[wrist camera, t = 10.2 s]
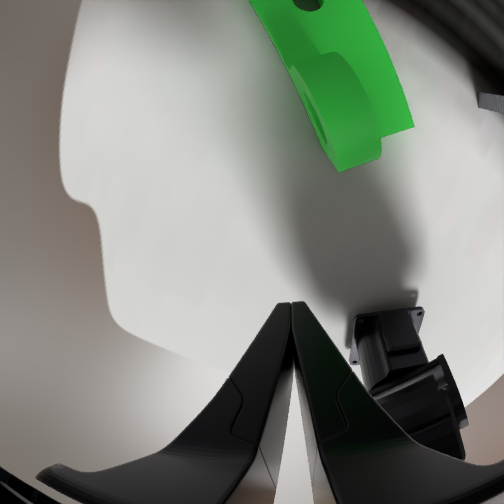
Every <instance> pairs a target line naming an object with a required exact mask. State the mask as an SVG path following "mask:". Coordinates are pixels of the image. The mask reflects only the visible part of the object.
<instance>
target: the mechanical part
mask: <svg viewBox="0 0 504 504" xmlns="http://www.w3.org/2000/svg"><path fill="white" fill-rule="evenodd" d="M317 1H318V3H319V5H320V9H318V10H316V11H304V10H301V9H299V8H298V7H297V6H296V5H295V4H294V3H293V0H249V2H250V4H251V5H252V7H253V9H254V10H255V12H256V14H257V16H258V17H259V19H260V21H261V22H262V24H263V26H264V28H265V30H266V31H267V33H268V35H269V37H270V39H271V40H272V42H273V44H274V46H275V48H276V50H277V52H278V54H279V56H280V57H281V59H282V61H283V63H284V65H285V67H286V69H287V71H288V73H289V75H290V77H291V79H292V82H293V84H294V86H295V88H296V90H297V92H298V94H299V96H300V98H301V101H302V103H303V105H304V107H305V109H306V112H307V114H308V116H309V119H310V121H311V123H312V125H313V128H314V130H315V133H316V135H317V137H318V140H319V142H320V145H321V147H322V150H323V151H324V153H325V154H326V156H327V157H328V158H329V160H330V161H331V163H332V164H333V165H334V167H335V168H336V170H337V171H338V172H341V171H344V170H347V169H350V168H353V167H355V166H358V165H361V164H364V163H367V162H370V161H372V160H375V159H378V158H379V157H380V155H381V137H384V136H387V135H391V134H394V133H397V132H400V131H403V130H406V129H409V128H413V127H415V126H414V123H413V119H412V116H411V113H410V110H409V107H408V104H407V101H406V98H405V95H404V92H403V90H402V87H401V84H400V81H399V79H398V76H397V74H396V71H395V69H394V66H393V64H392V61H391V59H390V57H389V54H388V52H387V50H386V47H385V45H384V43H383V41H382V39H381V37H380V34H379V32H378V30H377V28H376V26H375V24H374V22H373V20H372V18H371V16H370V15H369V13H368V11H367V9H366V7H365V5H364V3H363V2H362V0H317Z"/></svg>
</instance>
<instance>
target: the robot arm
mask: <svg viewBox="0 0 504 504" xmlns="http://www.w3.org/2000/svg"><path fill="white" fill-rule="evenodd" d="M418 312H419V313H418ZM424 312H425V311H424V309H423V307H413V308H406V309H398V310H391V311H383V312H374V313H366V314H359V315H357V316H356V317H355V318H354V326H353V335H352V343H351V351H350V358H349V361H350V364H351V365H360V366H361V371H362V376H363V382H364V385H363V384H362V383H361V381H360V380H359V379H358V377H357V376H356V374H355V373H354V372H352V369H351V367H350V366H349V364H348V363H347V361H346V360H345V359H344V357H343V356H342V354H341V353H340V351H339V350H338V348H337V347H336V346H335V344H334V343H333V341H332V340H331V338H330V337H329V336H328V334H327V333H326V331H325V330H324V328H323V327H322V326H321V324H320V323H319V321H318V320H317V318H316V317H315V316H314V314H313V313H312V311H311V310H310V309H309V307H308V306H307V304H306V303H305V302H304V301H298V302H292V303H290V302H284V303H278V304H277V305H276V306H275V308H274V309H273V311H272V313H271V314H270V316H269V317H268V319H267V320H266V322H265V323H264V325H263V326H262V328H261V329H260V331H259V332H258V334H257V336H256V337H255V339H254V340H253V342H252V343H251V345H250V346H249V348H248V349H247V351H246V352H245V353H244V355H243V356H242V358H241V359H240V361H239V362H238V364H237V365H236V367H235V368H234V370H233V371H232V373H231V374H230V375H229V378H227V380H226V381H225V383H224V384H223V385H222V387H221V388H220V390H219V391H218V392H217V394H216V395H215V396H214V397H213V399H212V400H211V401H210V402H209V403H208V405H207V406H206V407H205V408H204V409H203V410H202V411H201V412H200V414H198V416H197V417H196V418H195V419H194V420H193V421H192V422H191V423H190V424H189V425H188V426H187V427H186V428H185V429H184V430H183V431H182V432H181V433H180V434H179V435H178V436H177V437H176V438H175V439H174V440H173V441H172V442H171V443H170V444H169V445H167V446H166V447H165V448H163V449H162V450H160V451H158V452H156V453H154V454H151V455H148V456H146V457H143V458H140V459H137V460H134V461H131V462H128V463H125V464H122V465H119V466H115V467H112V468H109V469H105V470H101V471H97V472H80V471H77V470H75V469H72V468H70V467H67V466H65V465H63V464H55V465H53V466H50V467H48V468H45V469H43V470H42V471H41V472H39V473H38V474H37V475H36V477H35V478H36V479H37V480H39V481H41V482H42V483H44V484H46V485H47V486H49V487H51V488H53V489H55V490H56V491H58V492H60V493H62V494H64V495H66V496H68V497H70V498H72V499H74V500H76V501H78V502H80V503H82V504H273V503H274V498H275V493H276V487H277V481H278V476H279V470H280V464H281V459H282V453H283V446H284V440H285V433H286V427H287V419H288V413H289V405H290V398H291V390H292V382H293V373H294V369H295V376H296V383H297V389H298V395H299V402H300V408H301V414H302V421H303V428H304V435H305V441H306V448H307V455H308V461H309V469H310V476H311V483H312V491H313V498H314V504H504V460H502V461H500V462H498V463H495V464H492V465H475V464H471V463H468V462H465V461H464V460H465V450H464V446H463V442H462V438H461V434H460V431H459V430H460V429H462V428H464V427H466V426H468V425H469V423H468V419H467V415H466V411H465V408H464V405H463V402H462V399H461V396H460V393H459V390H458V388H457V385H456V383H455V380H454V378H453V375H452V373H451V371H450V368H449V366H448V364H447V361H446V359H445V357H444V355H443V354H441V355H439V356H438V357H437V358H436V359H434V360H432V361H431V362H429V361H428V359H427V356H426V353H425V351H424V348H423V346H422V342H421V340H420V337H419V335H418V333H419V330H420V327H421V323H422V320H423V316H424ZM361 319H362V320H361ZM359 320H360V321H359ZM0 504H62V503H60V502H58V501H57V500H55V499H53V498H51V497H50V496H48V495H46V494H44V493H43V492H41V491H39V490H37V489H36V488H34V487H33V486H31V485H29V484H28V483H26V482H24V481H23V480H21V479H19V478H18V477H16V476H15V475H13V474H12V473H10V472H9V471H7V470H5V469H4V468H3V467H1V466H0Z"/></svg>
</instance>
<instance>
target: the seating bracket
mask: <svg viewBox="0 0 504 504" xmlns="http://www.w3.org/2000/svg"><path fill="white" fill-rule="evenodd" d="M478 105H479V108H483V109H487V110H491V111H495V112H499V113H503V114H504V96H500V95H494V94H488V93H481V92H478Z"/></svg>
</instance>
